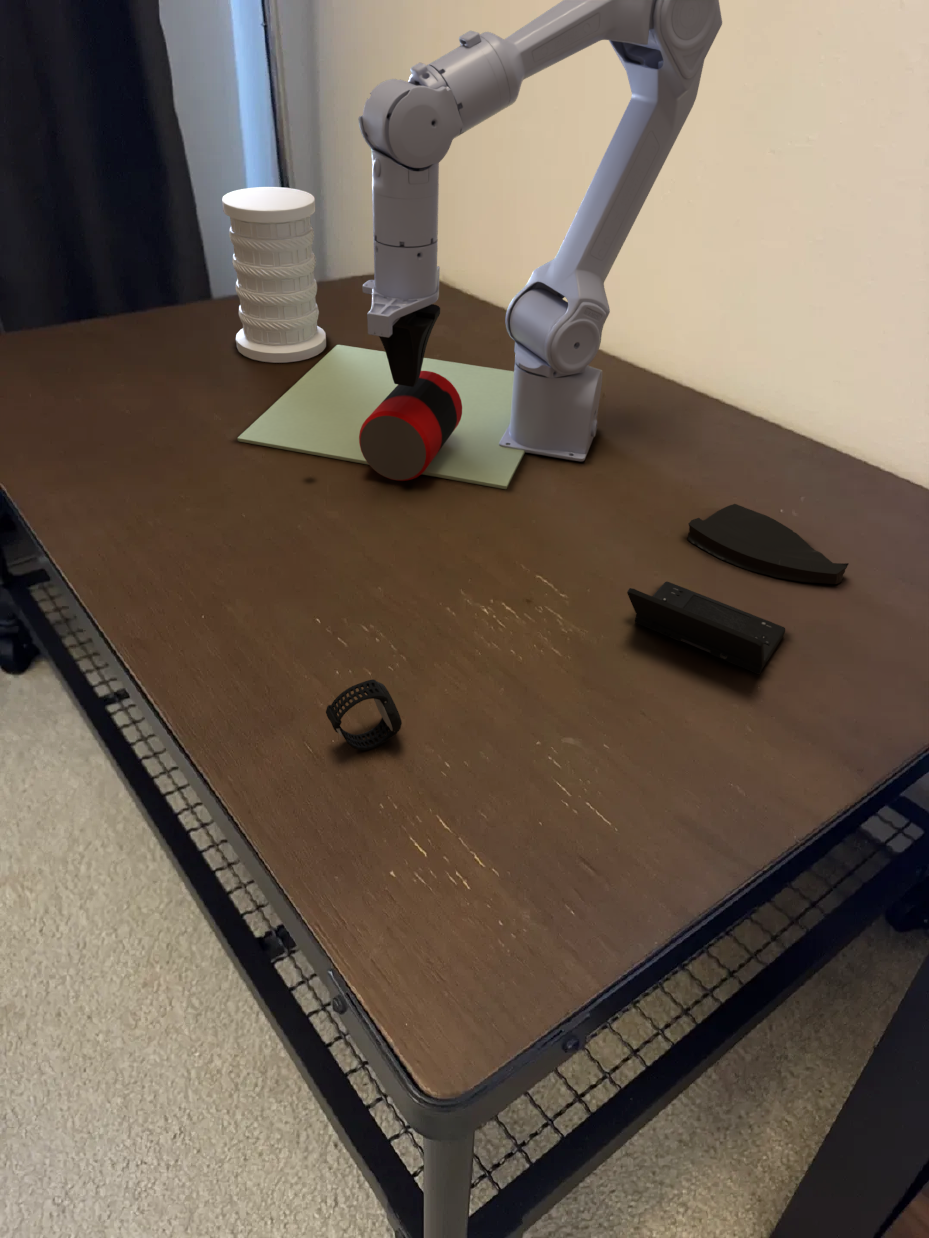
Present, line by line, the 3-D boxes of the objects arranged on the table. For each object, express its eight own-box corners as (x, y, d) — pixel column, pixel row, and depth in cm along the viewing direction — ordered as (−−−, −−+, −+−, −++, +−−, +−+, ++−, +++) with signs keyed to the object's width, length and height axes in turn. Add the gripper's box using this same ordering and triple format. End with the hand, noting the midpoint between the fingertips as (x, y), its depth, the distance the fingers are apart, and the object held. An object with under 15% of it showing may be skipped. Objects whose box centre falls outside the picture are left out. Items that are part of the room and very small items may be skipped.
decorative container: (320, 364, 114) (310, 214, 103) (228, 361, 114) (208, 209, 103) (331, 330, 123) (323, 188, 112) (246, 326, 123) (230, 184, 112)
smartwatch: (402, 759, 63) (402, 707, 60) (327, 761, 62) (323, 709, 59) (400, 717, 66) (400, 665, 63) (329, 719, 65) (325, 667, 62)
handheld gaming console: (791, 605, 75) (789, 562, 66) (773, 687, 74) (768, 654, 65) (655, 582, 80) (636, 539, 71) (635, 659, 78) (614, 625, 70)
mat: (561, 381, 113) (561, 378, 113) (506, 489, 92) (506, 486, 92) (337, 347, 119) (337, 344, 119) (237, 441, 98) (237, 437, 98)
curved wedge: (806, 607, 78) (811, 592, 77) (681, 538, 86) (684, 524, 85) (856, 571, 83) (861, 557, 82) (733, 509, 90) (736, 495, 89)
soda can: (417, 408, 86) (456, 361, 95) (347, 416, 89) (392, 370, 98) (437, 480, 90) (473, 428, 99) (370, 485, 93) (411, 434, 102)
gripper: (391, 212, 87) (392, 349, 95) (331, 256, 76) (339, 406, 84) (461, 221, 85) (457, 359, 94) (411, 266, 74) (411, 418, 83)
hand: (405, 382), depth 89 cm, fingers closed
